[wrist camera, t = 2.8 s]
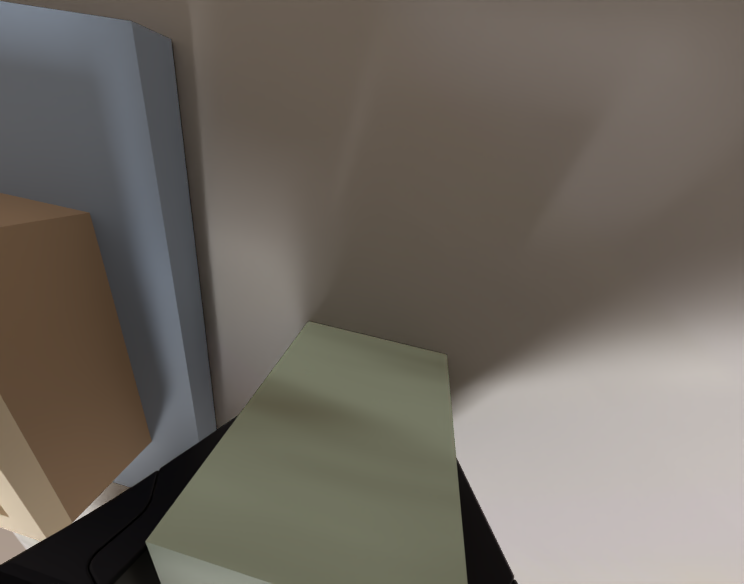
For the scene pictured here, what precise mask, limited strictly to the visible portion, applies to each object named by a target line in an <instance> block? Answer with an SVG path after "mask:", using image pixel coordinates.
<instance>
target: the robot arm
mask: <svg viewBox="0 0 744 584" xmlns="http://www.w3.org/2000/svg"><path fill="white" fill-rule="evenodd" d="M238 416H239V415H238ZM238 416H236V417H235V418H234V419H232V420H231V421H229V422H228V423H226V424H225V425H223V426H222V427H220V428H219V429H217V430H216V431H214V432H213V433H211V434H210V435H208V436H207V437H205V438H204V439H202V440H201V441H199V442H198V443H196V444H195V445H194V446H192V447H191V448H189V449H188V450H186V451H185V452H183V453H182V454H180V455H179V456H177V457H176V458H174V459H173V460H171V461H170V462H168V463H167V464H165V465H164V466H162V467H161V468H160V469H159V471H158V470H157V471H155V472H153V473H152V474H150V475H149V476H147V477H146V478H144V479H143V480H142V481H140V482H138V483H137V484H135V485H134V486H132V487H131V488H129V489H128V490H126V491H125V492H123V493H122V494H120V495H118V496H117V497H115V498H114V499H112V500H110V501H109V502H107V503H105V504H104V505H102V506H100V507H99V508H97V509H95V510H94V511H92V512H90V513H89V514H87V515H86V516H84V517H82V518H80V519H79V520H77V521H75V522H73V523H72V524H70V525H68V526H67V527H65V528H63V529H61V530H60V531H58V532H56V533H55V534H53V535H51V536H49V537H48V538H46V539H44V540H43V541H41V542H39V543H37V544H36V545H34V546H32V547H30V548H29V549H27V550H25V551H24V552H22V553H20V554H19V555H17V556H15V557H13V558H12V559H10V560H8V561H6V562H4V563H3V564H1V565H0V584H161V582H160V580H159V577H158V574H157V572H156V569H155V566H154V564H153V561H152V558H151V555H150V553H149V550H148V547H147V545H146V542H145V541H146V540H147V538H148V537H149V536H150V534H151V533H152V532H153V530H154V529H155V528H156V526H157V525H158V524H159V522H160V521H161V520H162V518H163V517H164V515H165V514H166V513H167V511H168V510H169V509H170V507H171V506H172V505H173V503H174V502H175V501H176V499H177V498H178V497H179V495H180V494H181V493H182V491H183V490H184V488H185V487H186V486H187V484H188V483H189V482H190V480H191V479H192V478H193V476H194V475H195V474H196V472H197V471H198V470H199V468H200V467H201V466H202V464H203V463H204V461H205V460H206V459H207V457H208V456H209V455H210V453H211V452H212V451H213V449H214V448H215V447H216V445H217V444H218V443H219V441H220V440H221V438H222V437H223V436H224V434H225V433H226V432H227V430H228V429H229V428H230V426H231V425H232V424H233V422H234V421H235V420H236V418H237V417H238ZM456 461H457V472H458V483H459V495H460V506H461V517H462V528H463V539H464V550H465V561H466V572H467V583H468V584H518V583H517V581H516V580H513V579H514V575H513V573H512V571H511V569H510V567H509V565H508V563H507V560H506V558H505V556H504V554H503V552H502V550H501V548H500V546H499V544H498V542H497V540H496V538H495V536H494V534H493V532H492V530H491V528H490V526H489V524H488V521H487V519H486V517H485V515H484V513H483V511H482V509H481V507H480V505H479V503H478V501H477V499H476V497H475V495H474V493H473V491H472V489H471V487H470V484H469V482H468V480H467V478H466V476H465V474H464V472H463V470H462V468H461V466H460V464H459V462H458V460H457V458H456Z"/></svg>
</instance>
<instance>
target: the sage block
mask: <svg viewBox="0 0 744 584" xmlns="http://www.w3.org/2000/svg"><path fill="white" fill-rule="evenodd" d="M145 542H146V545H147V547H148V550H149V553H150V555H151V558H152V561H153V564H154V566H155V569H156V572H157V574H158V577H159V580H160V582H161V584H468V583H467V572H466V561H465V550H464V539H463V528H462V517H461V506H460V495H459V483H458V472H457V461H456V450H455V439H454V428H453V417H452V406H451V395H450V384H449V373H448V362H447V355H446V354H442V353H438V352H434V351H430V350H426V349H422V348H417V347H413V346H409V345H405V344H401V343H397V342H393V341H388V340H384V339H380V338H376V337H372V336H368V335H364V334H359V333H355V332H351V331H347V330H343V329H339V328H335V327H330V326H326V325H322V324H318V323H314V322H310V321H308V322H307V324H306V325H305V326H304V328H303V329H302V330H301V332H300V333H299V334H298V336H297V337H296V339H295V340H294V341H293V343H292V344H291V345H290V347H289V348H288V349H287V351H286V352H285V353H284V355H283V356H282V357H281V359H280V360H279V361H278V363H277V364H276V366H275V367H274V368H273V370H272V371H271V372H270V374H269V375H268V376H267V378H266V379H265V380H264V382H263V383H262V384H261V386H260V387H259V389H258V390H257V391H256V393H255V394H254V395H253V397H252V398H251V399H250V401H249V402H248V403H247V405H246V406H245V407H244V409H243V410H242V411H241V413H240V414H239V416H238V417H237V418H236V420H235V421H234V422H233V424H232V425H231V426H230V428H229V429H228V430H227V432H226V433H225V434H224V436H223V437H222V438H221V440H220V441H219V443H218V444H217V445H216V447H215V448H214V449H213V451H212V452H211V453H210V455H209V456H208V457H207V459H206V460H205V461H204V463H203V464H202V466H201V467H200V468H199V470H198V471H197V472H196V474H195V475H194V476H193V478H192V479H191V480H190V482H189V483H188V484H187V486H186V487H185V488H184V490H183V491H182V493H181V494H180V495H179V497H178V498H177V499H176V501H175V502H174V503H173V505H172V506H171V507H170V509H169V510H168V511H167V513H166V514H165V515H164V517H163V518H162V520H161V521H160V522H159V524H158V525H157V526H156V528H155V529H154V530H153V532H152V533H151V534H150V536H149V537H148V538H147V540H146V541H145Z"/></svg>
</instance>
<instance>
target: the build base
mask: <svg viewBox="0 0 744 584" xmlns="http://www.w3.org/2000/svg"><path fill="white" fill-rule="evenodd" d="M216 430H217V428H216V420H215V411H214V403H213V394H212V385H211V377H210V368H209V360H208V351H207V343H206V334H205V325H204V317H203V308H202V300H201V291H200V282H199V274H198V265H197V257H196V248H195V239H194V231H193V222H192V214H191V205H190V196H189V188H188V179H187V171H186V162H185V154H184V145H183V136H182V128H181V119H180V111H179V102H178V93H177V85H176V76H175V68H174V59H173V50H172V42H171V39H169V38H167V37H165V36H163V35H161V34H159V33H156V32H154V31H152V30H150V29H148V28H146V27H143V26H141V25H139V24H137V23H135V22H132V21H128V20H122V19H115V18H109V17H102V16H96V15H89V14H82V13H76V12H69V11H63V10H56V9H49V8H43V7H36V6H30V5H23V4H16V3H10V2H3V1H0V527H1V528H3V529H6V530H9V531H12V532H15V533H18V534H21V535H24V536H27V537H30V538H33V539H35V540H38V541H43V540H44V539H46V538H48V537H49V536H51V535H53V534H55V533H56V532H58V531H60V530H61V529H63V528H65V527H67V526H68V525H70V524H71V523H72V522H73V521H74V520H75V519H76V518H77V517H78V516H79V515H80V514H81V513H82V512H83V511H84V510H85V509H86V508H87V507H88V506H89V505H90V504H91V503H92V502H93V501H94V500H95V499H96V498H97V497H98V496H99V495H100V494H101V493H102V492H103V491H104V490H105V489H106V488H107V487H108V486H109V485H110V484H111V483H112V482H115V483H118V484H121V485H124V486H127V487H130V488H131V487H132V486H134V485H135V484H137V483H138V482H140V481H142V480H143V479H144V478H146V477H147V476H149V475H150V474H152V473H153V472H155V471H157V470H158V471H159V469H160V468H161V467H162V466H164V465H165V464H167V463H168V462H170V461H171V460H173V459H174V458H176V457H177V456H179V455H180V454H182V453H183V452H185V451H186V450H188V449H189V448H191V447H192V446H194V445H195V444H196V443H198V442H199V441H201V440H202V439H204V438H205V437H207V436H208V435H210V434H211V433H213V432H214V431H216Z"/></svg>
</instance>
